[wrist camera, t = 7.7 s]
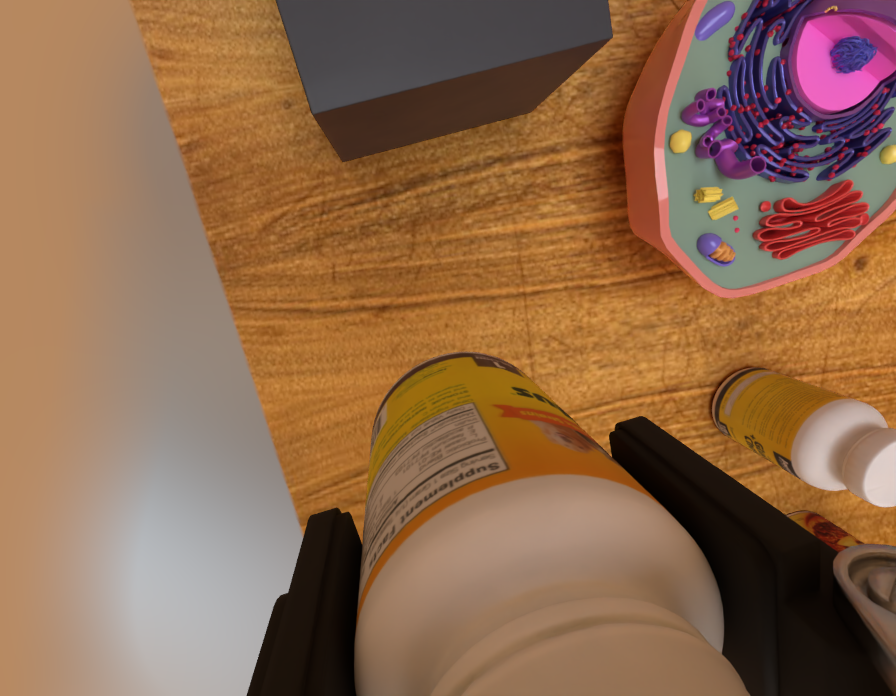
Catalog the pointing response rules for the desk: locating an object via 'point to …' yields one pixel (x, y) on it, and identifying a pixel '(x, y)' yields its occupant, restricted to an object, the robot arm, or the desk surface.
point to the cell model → (763, 138)
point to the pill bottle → (810, 433)
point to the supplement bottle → (521, 554)
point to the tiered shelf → (433, 63)
